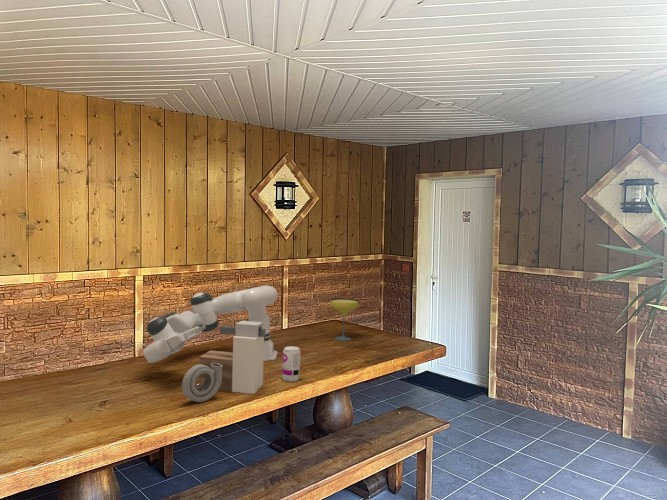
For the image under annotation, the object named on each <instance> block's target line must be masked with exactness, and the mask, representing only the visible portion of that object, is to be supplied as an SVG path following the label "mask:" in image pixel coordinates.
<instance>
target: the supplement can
mask: <svg viewBox="0 0 667 500" xmlns="http://www.w3.org/2000/svg"><path fill="white" fill-rule="evenodd" d="M281 369H282V373H281V374H282V375H281V378H282V380H283V381H285V382H290V383H291V382H297V381H298V380H300V376H301V375H300V373H301V372H300V371H301V350H300V347H298V346H292V345H289V346H285V347H284V349H283V350H282V368H281Z"/></svg>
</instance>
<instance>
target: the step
mask: <svg viewBox="0 0 667 500" xmlns="http://www.w3.org/2000/svg"><path fill="white" fill-rule="evenodd" d="M211 363H218V364H221V365H223V367H222V381H221V385H220V387H219V389H218V391H221V392H229V393H231V392H232V371H233V351H224V350H223V351H221V350H220V351H219V350H209V351H207V352H206V353H204V354H202V355H200V356H199V357H198V365H199V364H202V365H205V366H208V367H209V368H210V369H211V365H210V364H211ZM204 380H205V375H204V373H203V374H200V375H199V376H198V388H199V387H201V386H202V385H203V383H204ZM218 391H217V392H218ZM232 393H233V392H232Z"/></svg>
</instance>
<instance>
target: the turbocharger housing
mask: <svg viewBox="0 0 667 500" xmlns="http://www.w3.org/2000/svg"><path fill="white" fill-rule="evenodd" d="M210 365H211V369H210V368H209V367H208V366H205V365H202V364H199V363H198V364H195V365H193V366H192V367H190V368H189V369H188V370H187V371H186V373H185V374H184V376H183V378H182V382H181V390H182V392H183V395H184V397H186V398H187V399H189V400H191V401H193V402H195V403H203V402H206V401H209V400H210V399H212V397H214V396H215V394H216V393H217V392H218V389H219V387H220V385H221V381H222V367H223V365H221V364H218V363H211V364H210ZM203 373H204V375H205V380H204V383H203V385H202V386H201V387H199V386H198V387H197V388H196V381H197V379H198V378H199V375H200V374H203Z"/></svg>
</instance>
